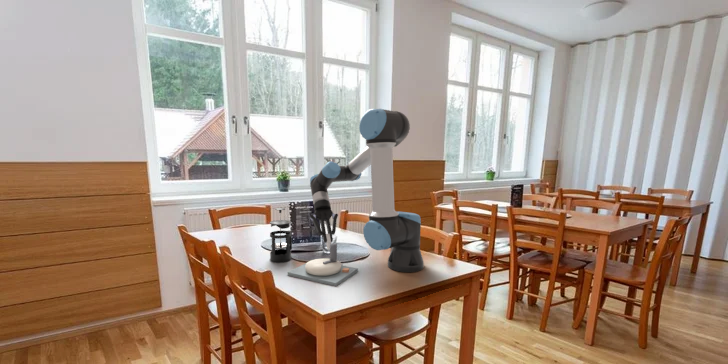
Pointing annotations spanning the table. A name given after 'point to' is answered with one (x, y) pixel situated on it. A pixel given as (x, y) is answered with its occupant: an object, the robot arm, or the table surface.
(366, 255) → the table surface
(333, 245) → the dial
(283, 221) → the french press
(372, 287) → the table surface
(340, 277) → the dial board
